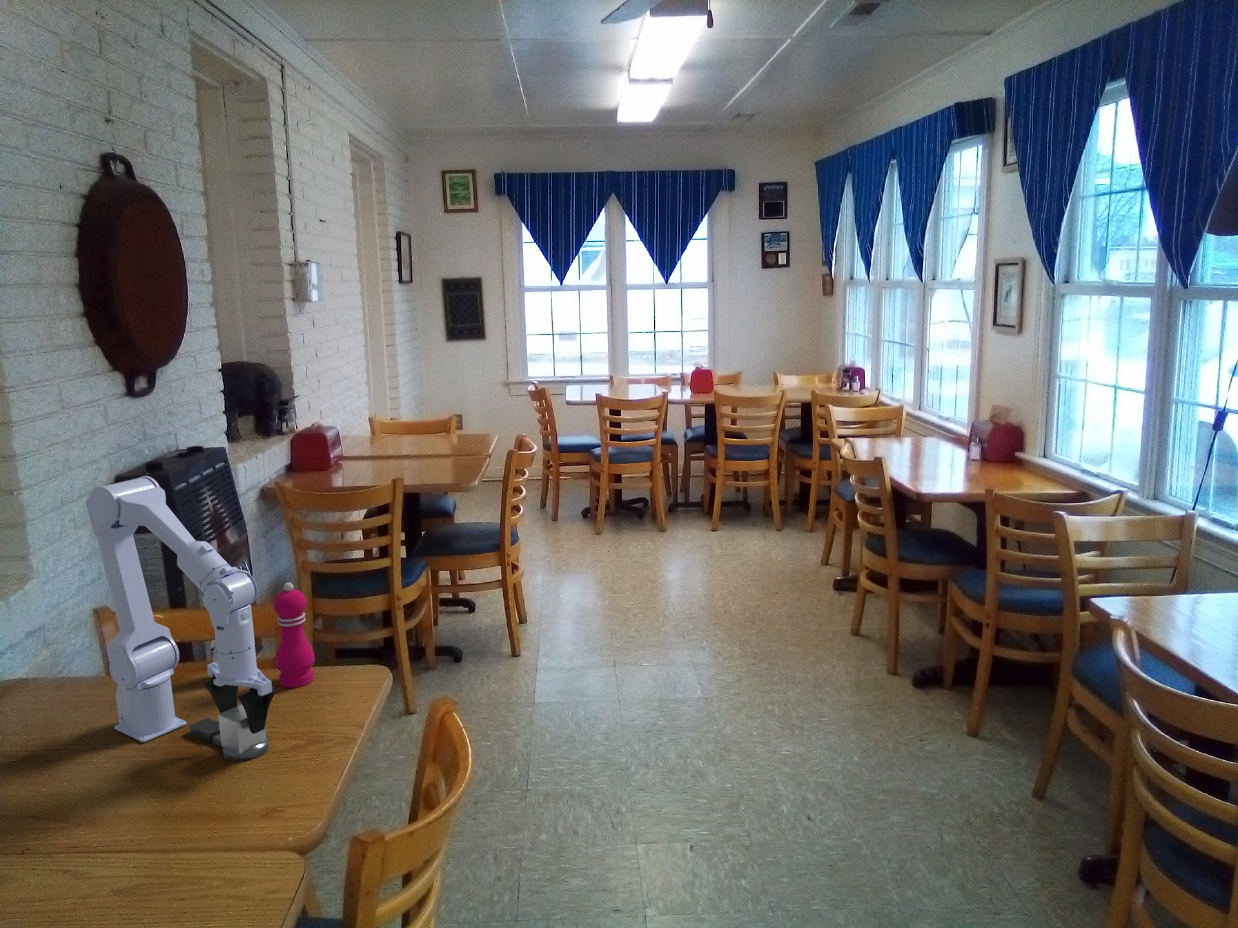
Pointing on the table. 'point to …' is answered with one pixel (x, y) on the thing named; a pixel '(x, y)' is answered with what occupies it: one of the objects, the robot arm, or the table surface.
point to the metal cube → (238, 731)
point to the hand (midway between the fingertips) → (243, 724)
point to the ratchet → (211, 734)
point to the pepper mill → (293, 639)
